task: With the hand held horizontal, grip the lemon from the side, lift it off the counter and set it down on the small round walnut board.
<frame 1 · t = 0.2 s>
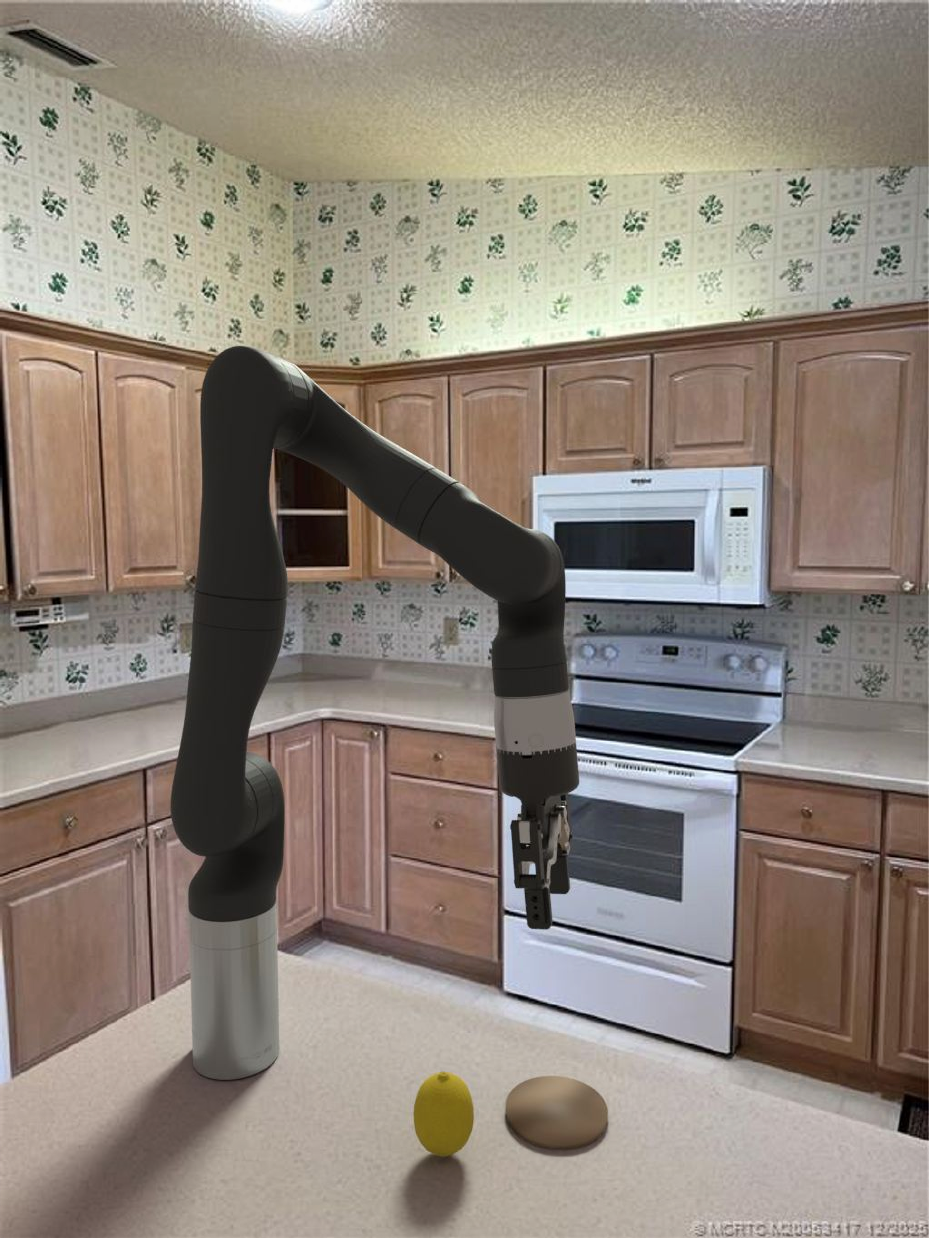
hand: (550, 909, 82), 22 cm above the counter, tool pointing down, fingers open, 8 cm apart
walnut board: (556, 1114, 86), on the counter
lemon: (443, 1157, 80), on the counter
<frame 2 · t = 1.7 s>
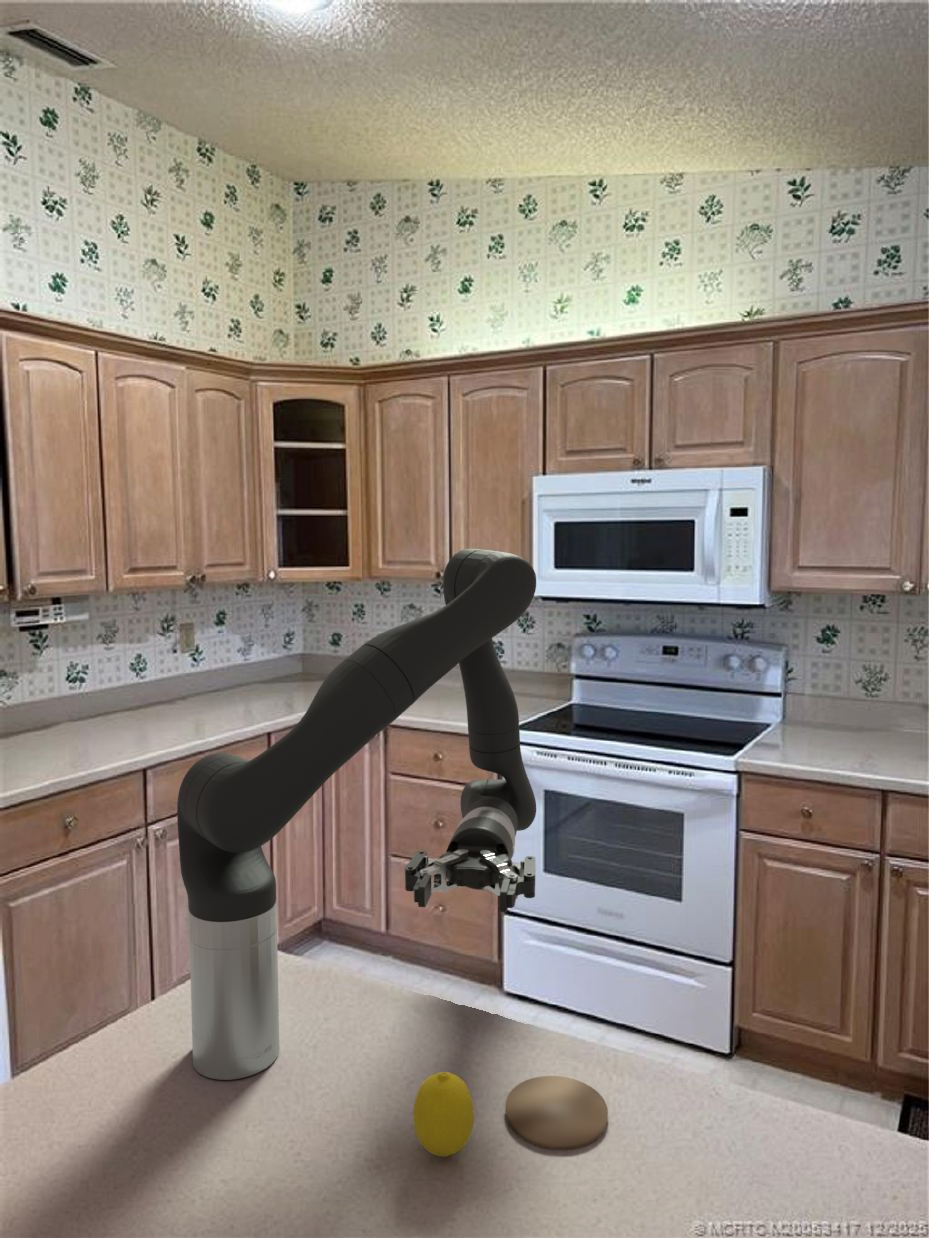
hand: (462, 900, 89), 20 cm above the counter, tool horizontal, fingers open, 8 cm apart
nothing on the counter moved.
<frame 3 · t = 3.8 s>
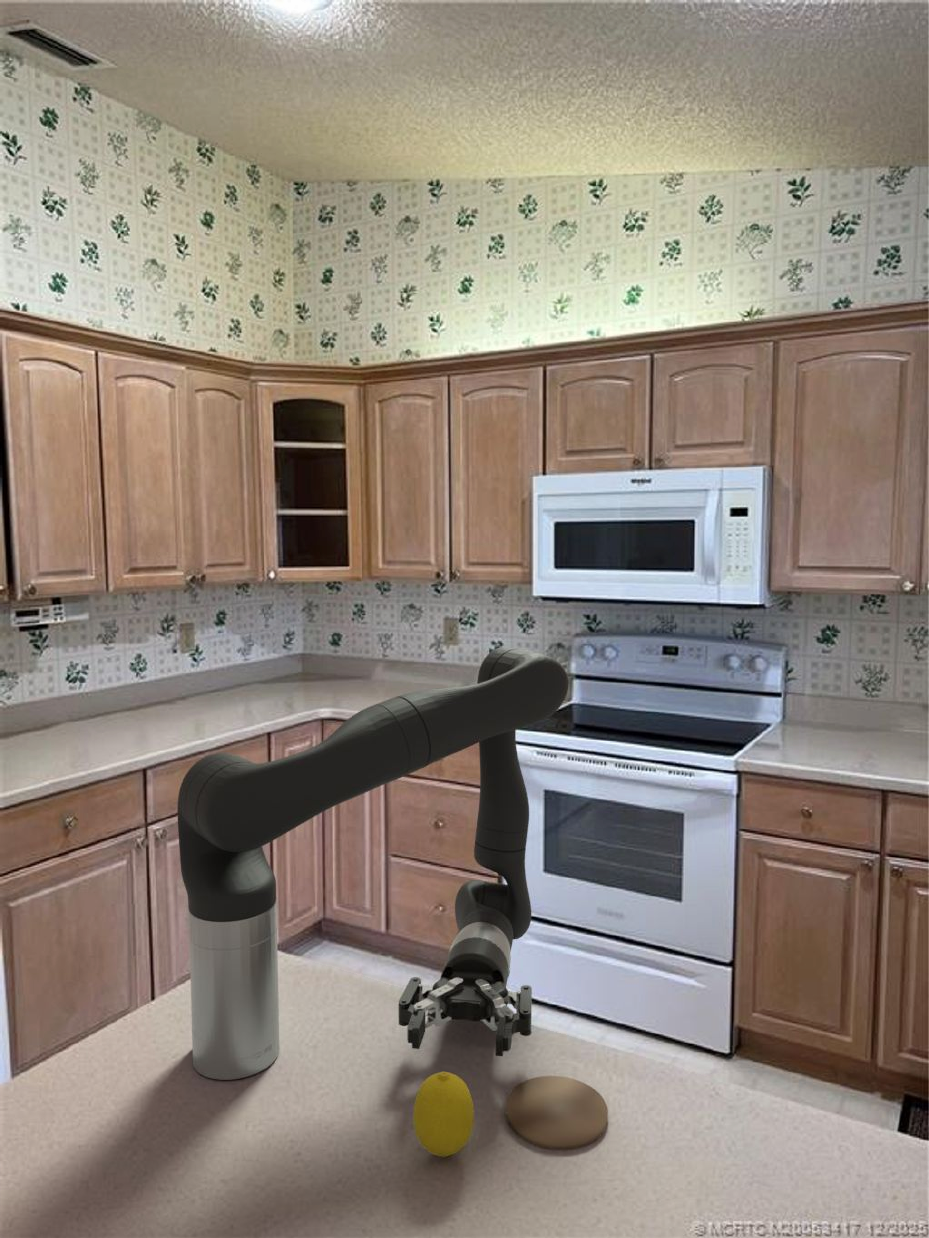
hand: (457, 1043, 87), 6 cm above the counter, tool horizontal, fingers open, 8 cm apart
nothing on the counter moved.
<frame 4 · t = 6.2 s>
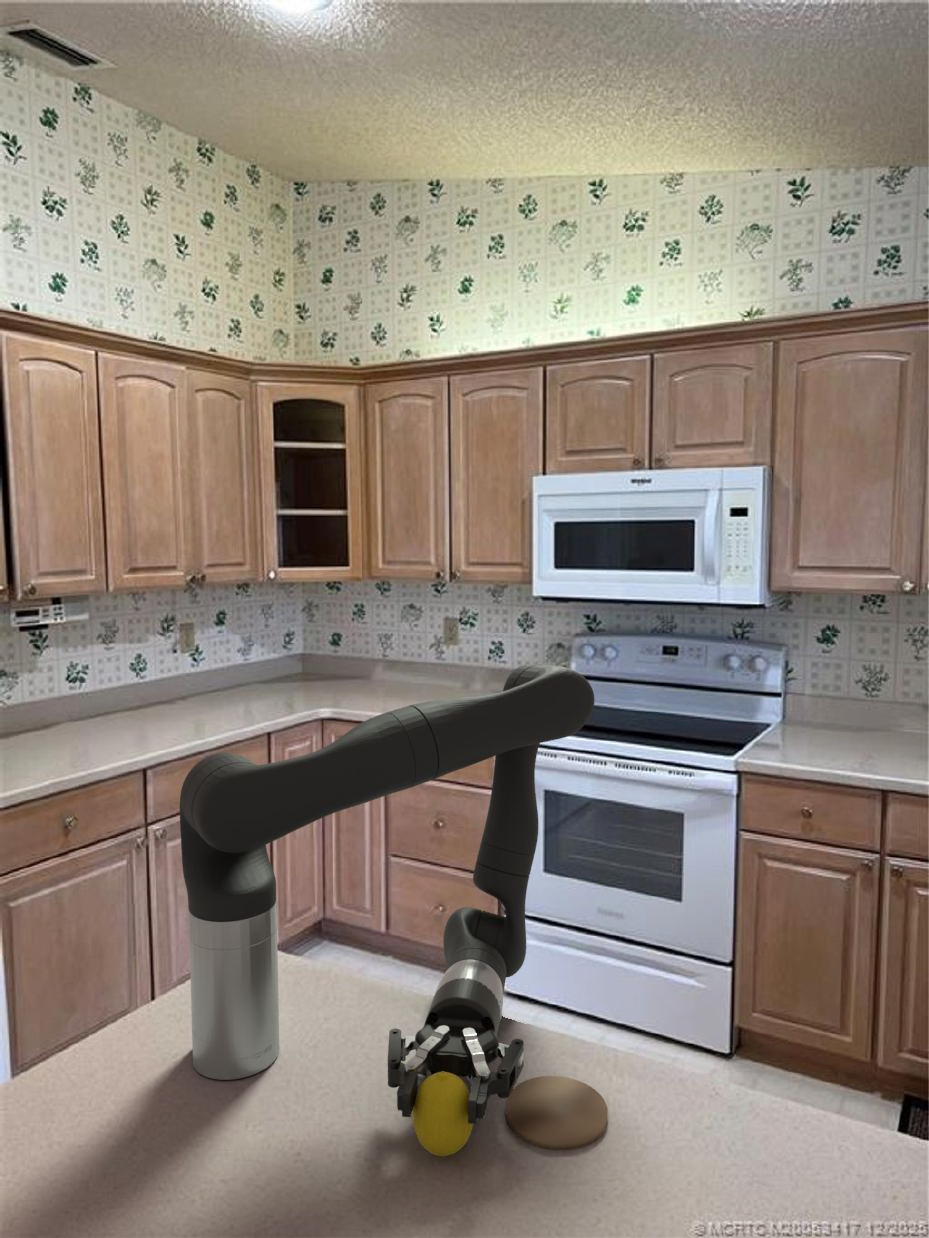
hand: (439, 1110, 77), 6 cm above the counter, tool horizontal, fingers closed on lemon, 5 cm apart
lemon: (443, 1157, 80), on the counter, touching gripper
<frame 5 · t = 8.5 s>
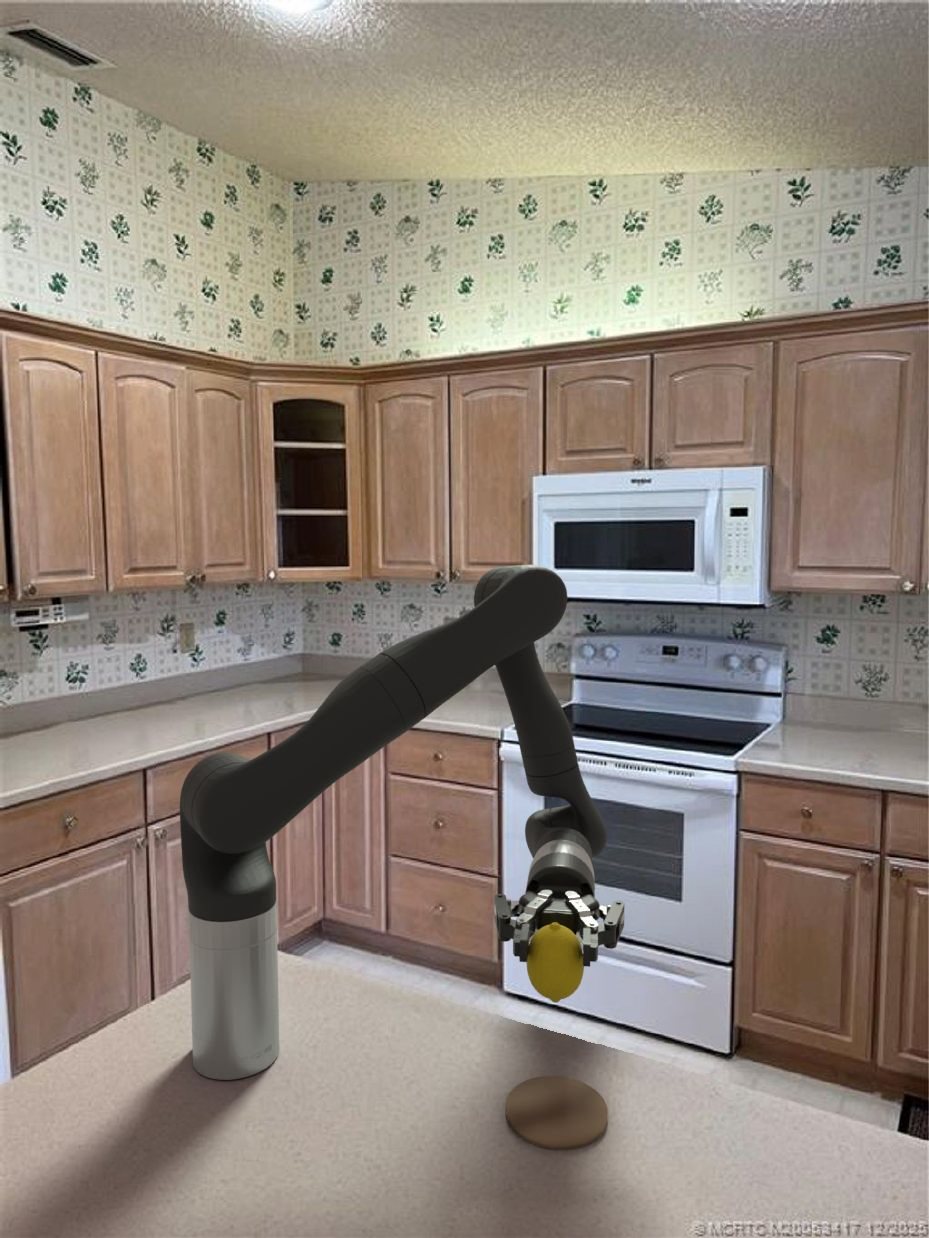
hand: (555, 954, 82), 18 cm above the counter, tool horizontal, fingers closed on lemon, 5 cm apart
lemon: (555, 1003, 85), point 11 cm above the counter, touching gripper
when the fingers open (8 cm above the counter, at t = 10.9 s): lemon drops 1 cm, resting on walnut board.
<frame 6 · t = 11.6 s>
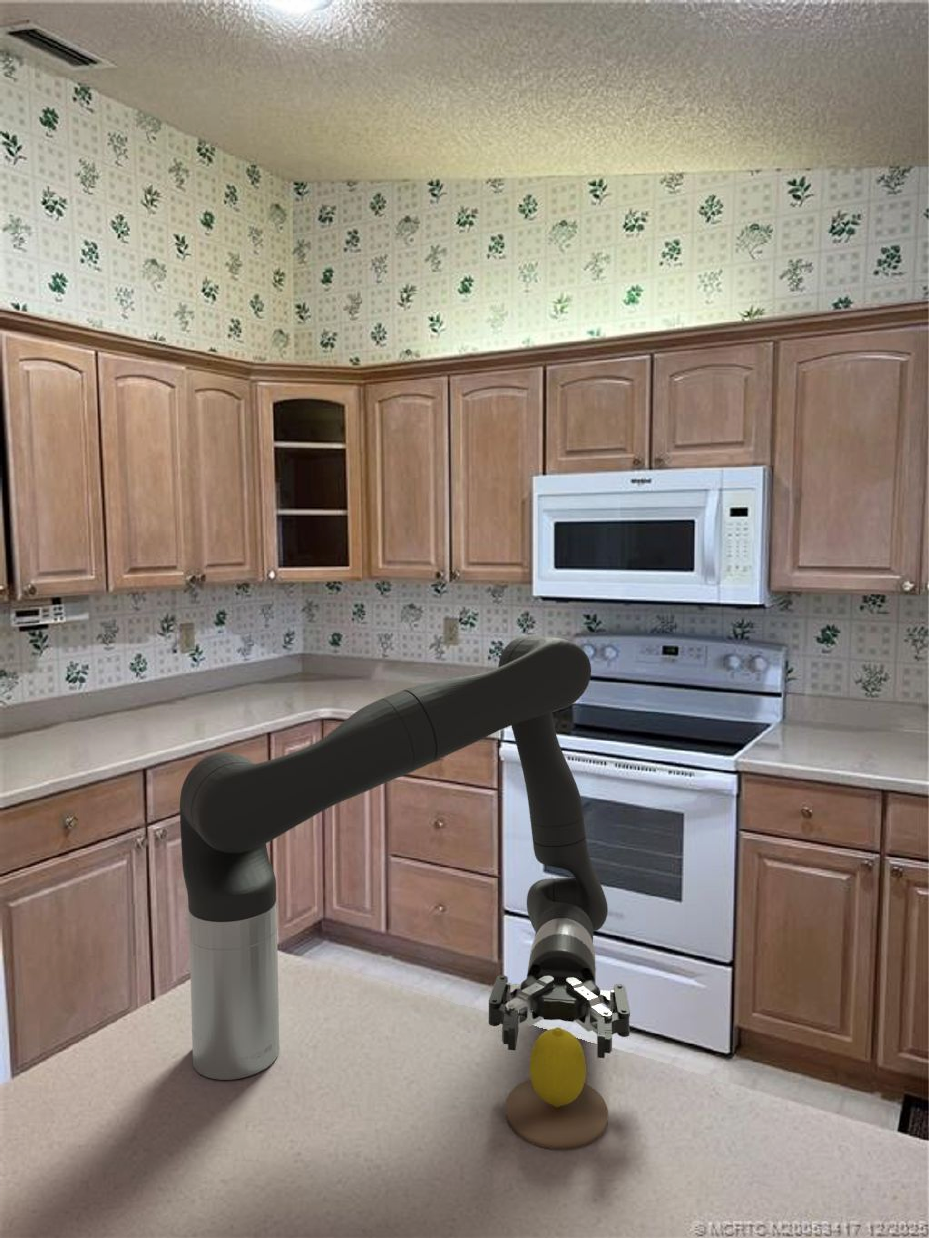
hand: (556, 1045, 83), 8 cm above the counter, tool horizontal, fingers open, 8 cm apart
lemon: (557, 1107, 86), point 1 cm above the counter, touching walnut board
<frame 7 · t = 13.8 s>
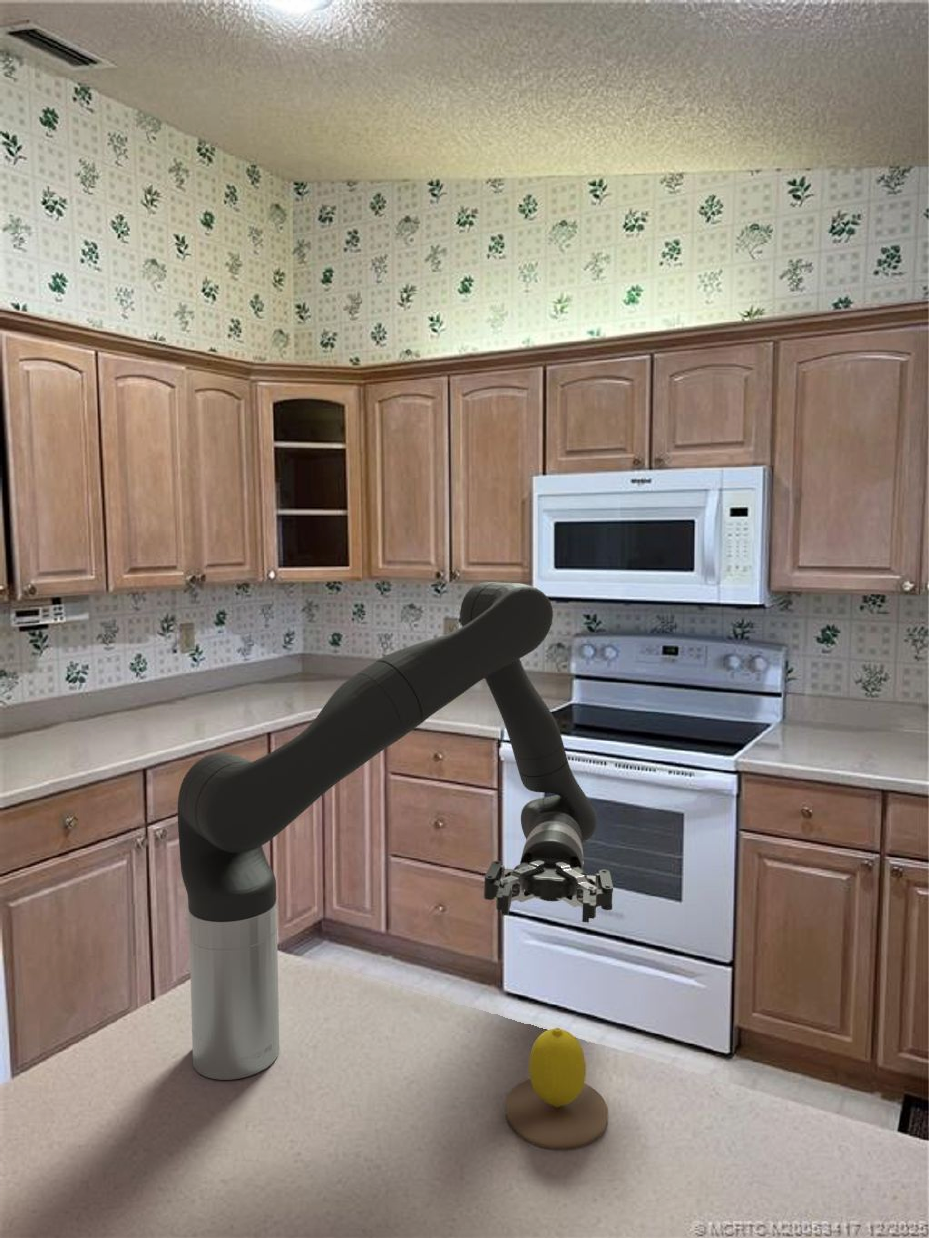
hand: (545, 909, 92), 18 cm above the counter, tool horizontal, fingers open, 8 cm apart
nothing on the counter moved.
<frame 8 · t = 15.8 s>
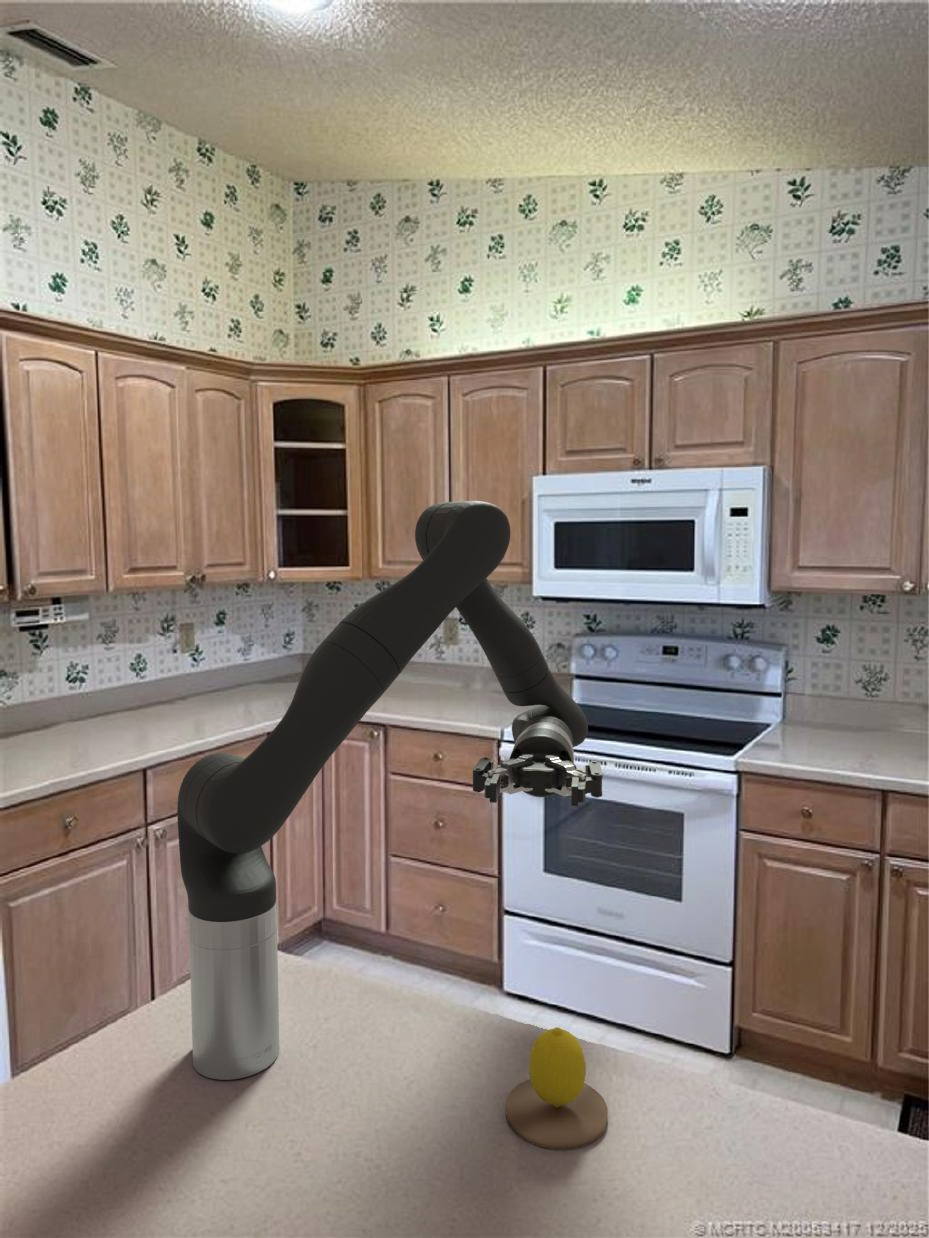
hand: (533, 795, 90), 30 cm above the counter, tool horizontal, fingers open, 8 cm apart
nothing on the counter moved.
at the end: lemon inside the target area on the walnut board (0.1 cm from its centre), point 0.6 cm above the walnut board's base; the gripper is holding nothing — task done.
